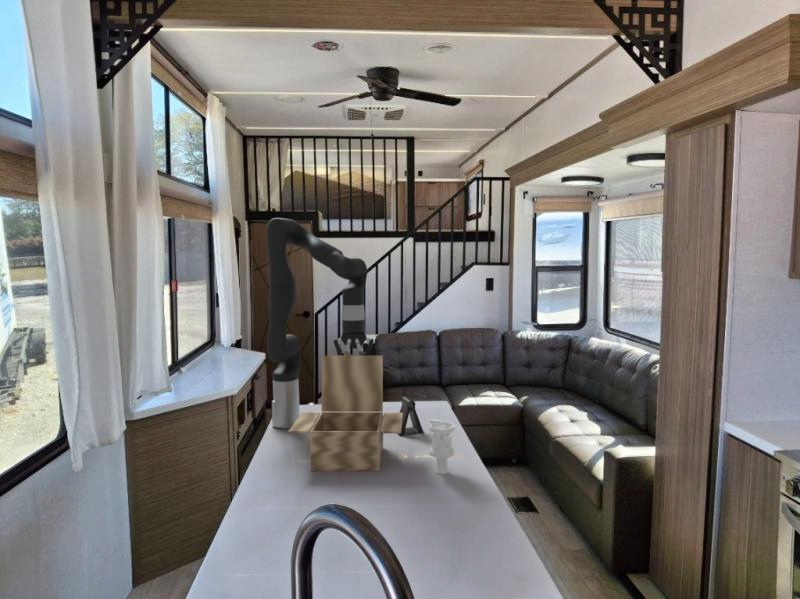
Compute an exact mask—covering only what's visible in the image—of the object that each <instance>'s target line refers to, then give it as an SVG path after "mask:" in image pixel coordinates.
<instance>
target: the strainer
mask: <svg viewBox="0 0 800 599" xmlns="http://www.w3.org/2000/svg"><path fill="white" fill-rule="evenodd" d="M438 426H444V427H445V428H437V427H438ZM429 431H430V433H432V441H431V442H432V444H431V447H430V448H429V455H430V456H431V457H433V458H435V459H436V473H437V474H438V473H439V474H438V475H446V474H448V459H449V458H452V457H454V456H455V449H454V448H453V447H452V444H453V443H452V442H453V440H452V439H453V438H452V436H453V435H452V433H453V432H454V431H455V424H454V423H453V422H449V421H445V420H444V421H442V420H439V419H435V418H431V419H430V423H429Z"/></svg>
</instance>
